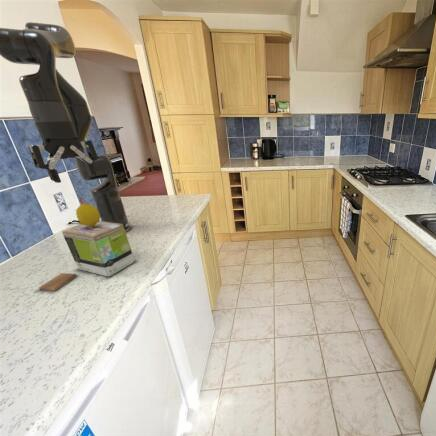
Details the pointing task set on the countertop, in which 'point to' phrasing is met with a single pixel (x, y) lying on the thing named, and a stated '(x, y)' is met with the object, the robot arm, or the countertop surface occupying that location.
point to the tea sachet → (57, 282)
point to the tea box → (99, 247)
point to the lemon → (88, 214)
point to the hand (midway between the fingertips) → (75, 178)
